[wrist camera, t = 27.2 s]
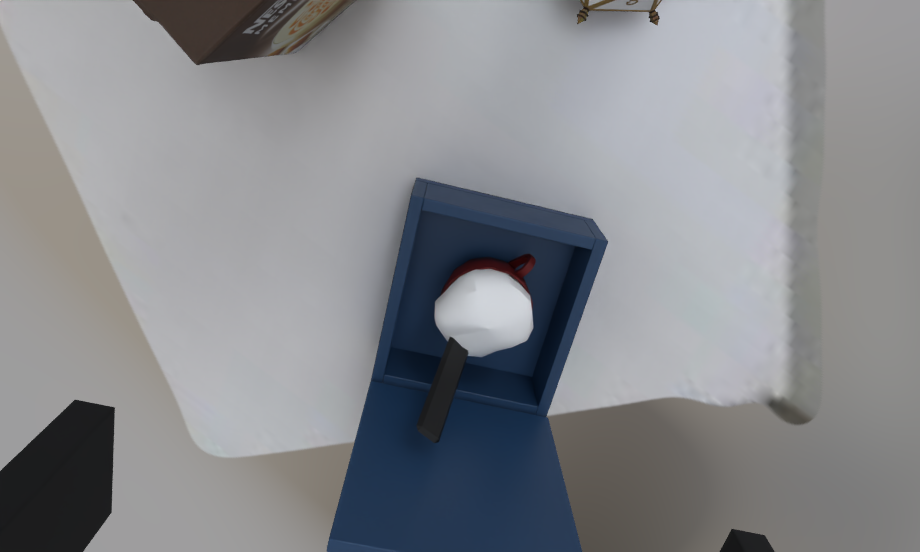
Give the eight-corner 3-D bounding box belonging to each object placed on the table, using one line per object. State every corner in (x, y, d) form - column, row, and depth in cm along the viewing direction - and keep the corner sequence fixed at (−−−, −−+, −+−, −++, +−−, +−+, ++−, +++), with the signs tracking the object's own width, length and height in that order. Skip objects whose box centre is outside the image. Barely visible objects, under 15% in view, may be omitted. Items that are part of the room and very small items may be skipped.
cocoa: (522, 226, 42) (544, 297, 30) (555, 301, 44) (587, 394, 33) (399, 278, 43) (377, 365, 32) (437, 349, 45) (428, 453, 34)
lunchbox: (416, 177, 41) (411, 195, 37) (593, 219, 42) (608, 241, 38) (379, 348, 46) (370, 382, 42) (538, 381, 47) (545, 418, 43)
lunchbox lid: (328, 538, 28) (306, 645, 30) (591, 587, 29) (551, 686, 31) (370, 380, 41) (353, 461, 43) (548, 417, 42) (522, 494, 44)
